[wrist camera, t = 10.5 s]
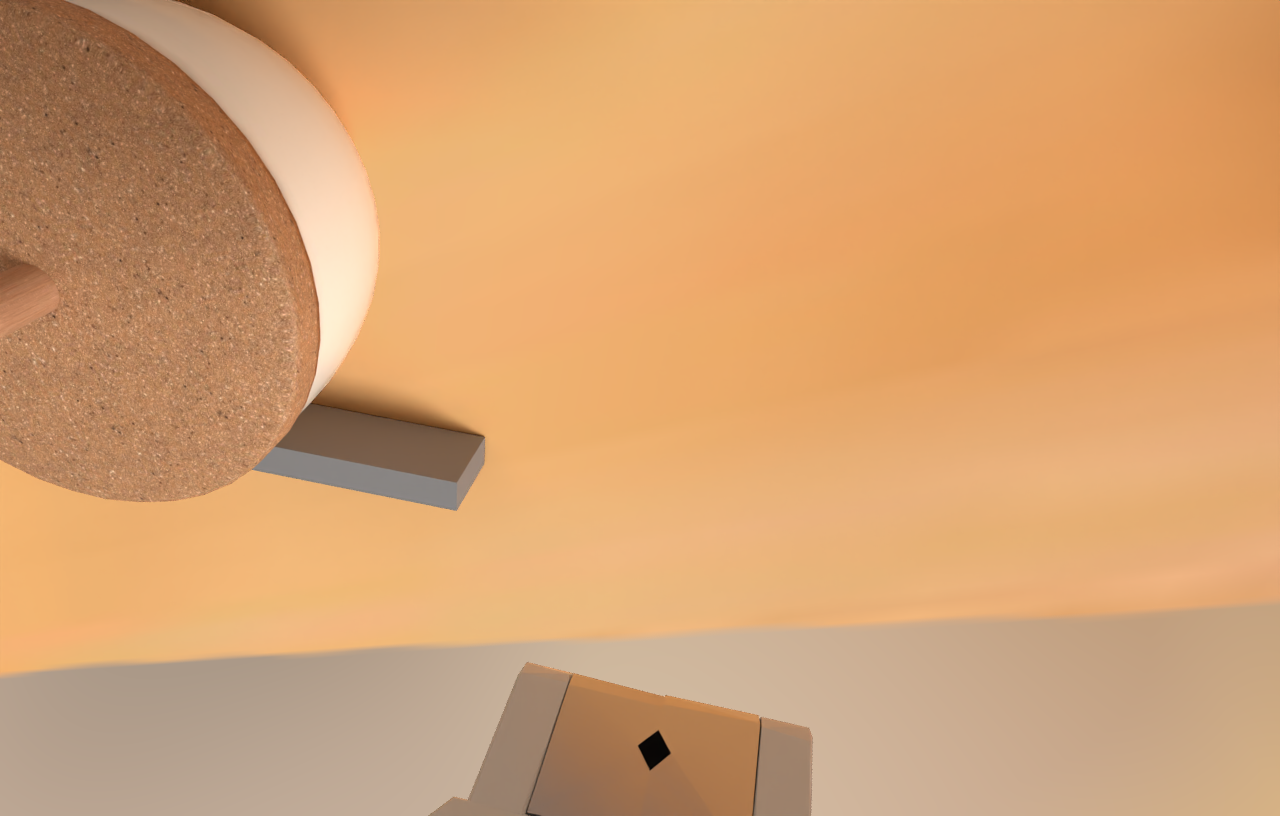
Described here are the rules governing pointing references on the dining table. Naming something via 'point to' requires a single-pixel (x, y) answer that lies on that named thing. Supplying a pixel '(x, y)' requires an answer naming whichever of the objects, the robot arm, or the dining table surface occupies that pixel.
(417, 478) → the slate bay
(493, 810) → the robot arm
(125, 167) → the lidded jar
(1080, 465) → the dining table surface
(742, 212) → the dining table surface
